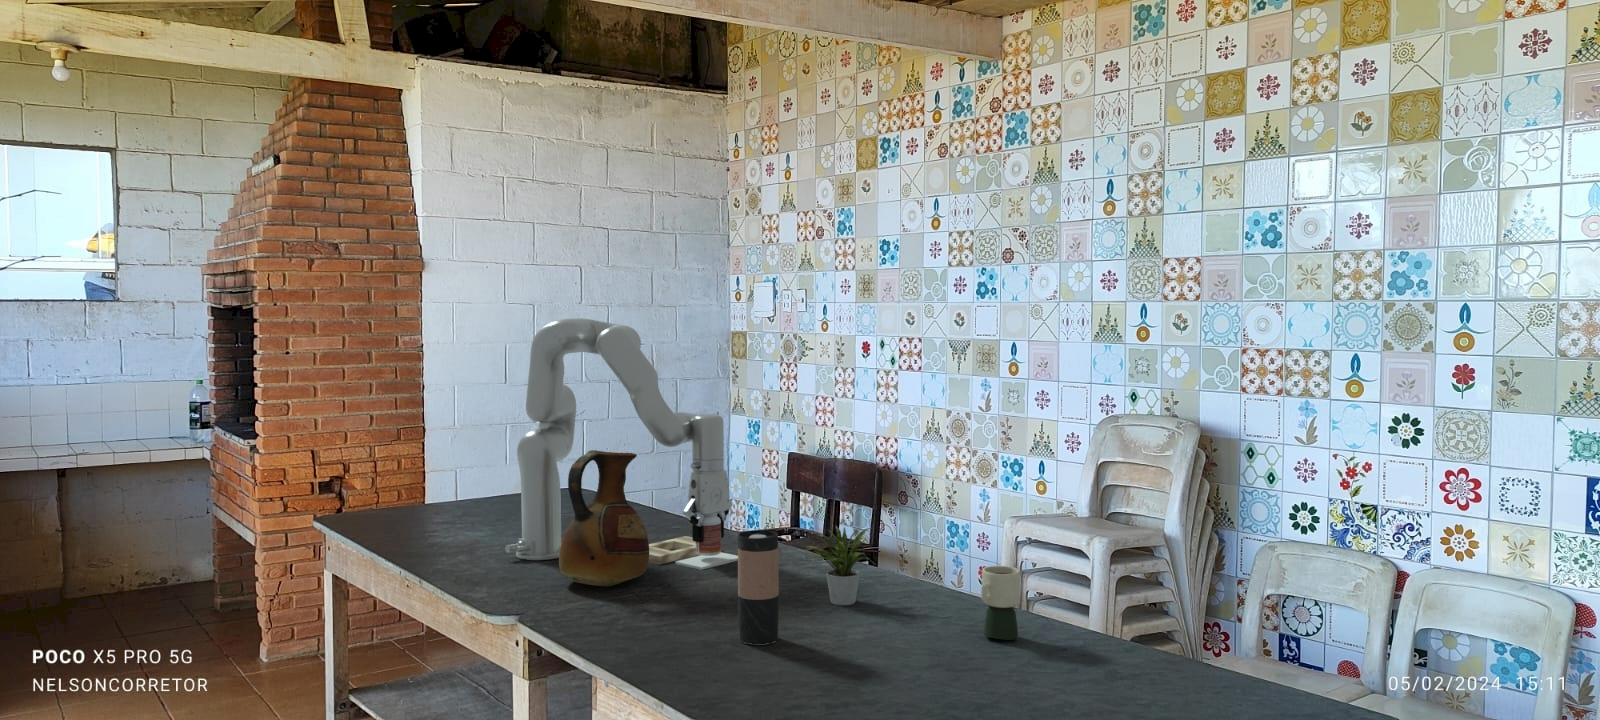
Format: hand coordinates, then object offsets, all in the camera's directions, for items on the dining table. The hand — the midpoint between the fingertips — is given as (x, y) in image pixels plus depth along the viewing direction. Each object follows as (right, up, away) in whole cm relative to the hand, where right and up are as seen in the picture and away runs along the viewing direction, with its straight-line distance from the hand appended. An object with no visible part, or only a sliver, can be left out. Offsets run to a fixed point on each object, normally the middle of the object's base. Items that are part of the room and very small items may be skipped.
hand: (708, 538), depth 274 cm
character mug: (+60, -9, -62) cm, 87 cm away
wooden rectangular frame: (-10, -5, +9) cm, 14 cm away
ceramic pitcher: (-22, -7, -19) cm, 30 cm away
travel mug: (+15, -9, -62) cm, 65 cm away
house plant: (+32, -8, -35) cm, 48 cm away
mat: (0, -6, 0) cm, 6 cm away
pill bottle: (0, -4, 0) cm, 4 cm away
